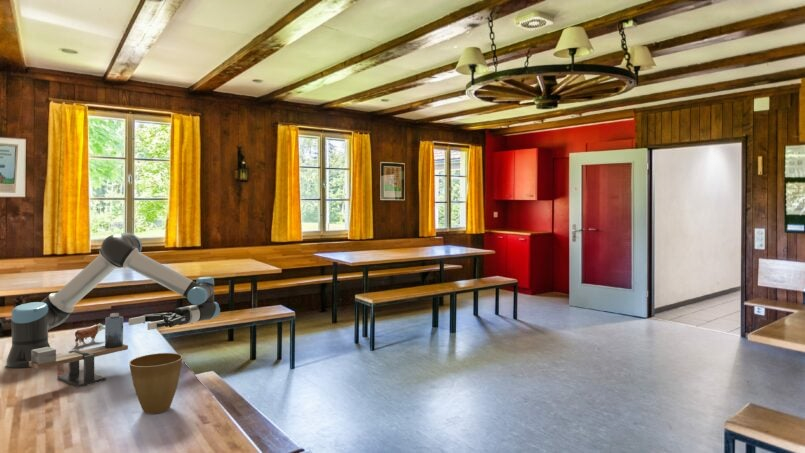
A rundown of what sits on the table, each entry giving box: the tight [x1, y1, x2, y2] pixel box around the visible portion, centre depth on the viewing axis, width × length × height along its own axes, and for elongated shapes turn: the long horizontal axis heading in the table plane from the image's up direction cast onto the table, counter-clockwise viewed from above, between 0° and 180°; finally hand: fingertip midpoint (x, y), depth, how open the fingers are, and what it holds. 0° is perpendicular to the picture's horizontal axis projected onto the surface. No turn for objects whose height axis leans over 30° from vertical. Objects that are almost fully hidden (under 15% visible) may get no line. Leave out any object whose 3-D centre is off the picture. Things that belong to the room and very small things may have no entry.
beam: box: [29, 343, 129, 371], centre depth 179 cm, size 9×30×6 cm, turn 148°
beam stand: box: [56, 349, 107, 388], centre depth 179 cm, size 16×9×10 cm, turn 58°
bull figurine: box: [74, 323, 105, 346], centre depth 228 cm, size 4×13×8 cm, turn 155°
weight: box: [104, 312, 124, 348], centre depth 188 cm, size 6×6×12 cm
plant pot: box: [128, 352, 183, 415], centre depth 153 cm, size 15×15×16 cm
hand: (138, 324), depth 196 cm, fingers open, 13 cm apart
